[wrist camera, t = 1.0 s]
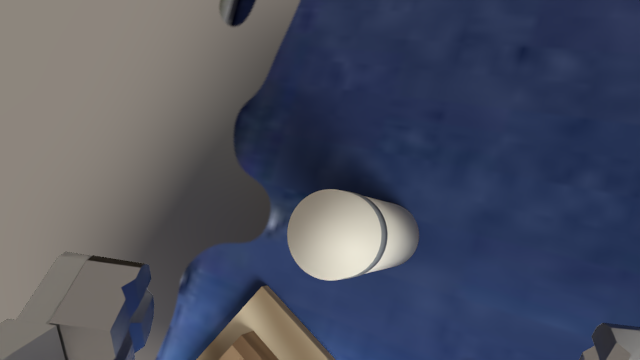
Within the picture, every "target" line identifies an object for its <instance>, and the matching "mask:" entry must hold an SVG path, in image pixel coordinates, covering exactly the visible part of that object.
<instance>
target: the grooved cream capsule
mask: <svg viewBox="0 0 640 360" xmlns="http://www.w3.org/2000/svg"><path fill="white" fill-rule="evenodd" d="M287 237H288V245H289V249H290V252H291V254H292V256H293V258H294V260H295V261H296V263H297V264H298V265H299V266H300V267H301V268H302V269H303V270H304V271H305V272H306V273H308V274H309V275H311V276H313V277H315V278H318V279H322V280H339V279H348V278H352V277H356V276H360V275H362V274H365V273H369V272H374V271H378V270H382V269H386V268H391V267H395V266H398V265H401V264H403V263H404V262H406V261H407V260H408V259H409V258H410V257H411V256H412V255H413V254H414V252H415V250H416V248H417V245H418V241H419V229H418V225H417V223H416V221H415V219H414V217H413V216H412V214H411V213H410V212H409V211H408V210H406V209H405V208H403V207H402V206H400V205H397V204H393V203H389V202H385V201H381V200H377V199H373V198H369V197H365V196H362V195H360V194H357V193H353V192H349V191H341V190H336V189H326V190H320V191H317V192H314V193H312V194H310V195H309V196H307V197H306V198H304V199H303V200H302V201H301V202H300V203H299V204H298V206H297V207H296V208H295V210H294V211H293V213H292V216H291V218H290V221H289V225H288V233H287Z"/></svg>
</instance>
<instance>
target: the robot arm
mask: <svg viewBox="0 0 640 360" xmlns="http://www.w3.org/2000/svg"><path fill="white" fill-rule="evenodd" d="M150 280H151V275H150V268H149V265H147V264H145V263H139V262H132V261H125V260H119V259H113V258H107V257H100V256H94V255H93V256H90V255H84V254H78V253H71V252H64V253H63V254H61V255H60V256H59V257H58V258H57V259H56V260H55V262H54V264H53V265H52V266H51V268H50V270H49V271H48V272H47V274H46V276H45V277H44V279H43V280H42V282H41V283H40V285H39V286H38V288H37V289H36V291H35V292H34V294H33V295H32V297H31V298H30V300H29V301H28V303H27V304H26V306H25V307H24V309H23V310H22V312H21V313H20V315H19V316H18V318H17V319H16V320H14V319H7V320H5V321H3V322H1V323H0V360H135V356H134V353H135V352H137V351H138V350H140V349H141V348H142V347H144V346H145V344H146V341H147V338H148V336H149V333H150V329H151V325H152V320H153V314H154V301H153V295H152V294H151V293H150V292H149V291H148V290H147V287H148V285H149V282H150ZM592 339H593V342H594V345H595V346H594V347H592V348H590V349H588V350H586V351H584V352H583V353H582V355H581V357H580V359H579V360H640V327H634V326H626V325H618V324H609V323H602V324H601V325H599V326H598V327H597V328H596V329H595V331H594V333H593V335H592Z"/></svg>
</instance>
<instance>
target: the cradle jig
mask: <svg viewBox="0 0 640 360" xmlns="http://www.w3.org/2000/svg"><path fill="white" fill-rule="evenodd" d="M196 360H335V359H334V358H333V357H332V355H331V354H330V353H329V352H328V351H327V350H326V349H325V348H324V347H323V346H322V345H321V343H320V342H319V341H318V340H317V339H316V338H315V337H314V336H313V335H312V334H311V332H310V331H309V330H308V329H307V328H306V327H305V326H304V325H303V324H302V323H301V322H300V320H299V319H298V318H297V317H296V316H295V315H294V314H293V313H292V312H291V311H290V309H289V308H288V307H287V306H286V305H285V304H284V303H283V302H282V301H281V300H280V298H279V297H278V296H277V295H276V294H275V293H274V292H273V291H272V290H271V289H270V288H269V286H268V285H267V286H262V287H261V288H260V289H259V290H258V291H257V292H256V294H255V295H254V296H253V297H252V298H251V299H250V300H249V301H248V302H247V304H246V305H245V306H244V307H243V308H242V309H241V310H240V311H239V313H238V314H237V315H236V316H235V317H234V318H233V319H232V320H231V321H230V323H229V324H228V325H227V326H226V327H225V328H224V329H223V330H222V331H221V333H220V334H219V335H218V336H217V337H216V338H215V339H214V340H213V342H212V343H211V344H210V345H209V346H208V347H207V348H206V349H205V350H204V352H203V353H202V354H201V355H200V356H199V357H198V358H197V359H196Z"/></svg>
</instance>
